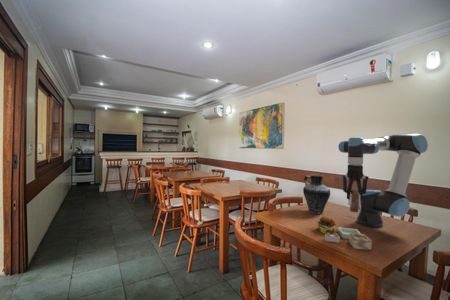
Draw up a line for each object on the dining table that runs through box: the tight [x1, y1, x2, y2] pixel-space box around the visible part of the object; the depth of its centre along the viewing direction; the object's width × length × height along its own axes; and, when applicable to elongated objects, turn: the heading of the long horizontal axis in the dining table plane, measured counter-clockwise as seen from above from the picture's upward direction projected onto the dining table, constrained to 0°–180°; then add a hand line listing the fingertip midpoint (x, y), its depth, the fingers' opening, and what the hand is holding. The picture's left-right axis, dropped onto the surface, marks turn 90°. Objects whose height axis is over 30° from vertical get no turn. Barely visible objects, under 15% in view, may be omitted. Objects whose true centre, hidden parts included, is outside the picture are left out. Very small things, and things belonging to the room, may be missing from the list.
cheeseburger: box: [317, 215, 337, 234], centre depth 135 cm, size 10×11×10 cm
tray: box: [337, 226, 362, 240], centre depth 128 cm, size 11×11×2 cm
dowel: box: [349, 189, 359, 213], centre depth 125 cm, size 4×4×12 cm
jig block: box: [348, 233, 373, 251], centre depth 116 cm, size 8×8×5 cm
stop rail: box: [324, 233, 341, 244], centre depth 121 cm, size 7×2×4 cm, turn 76°
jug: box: [302, 173, 331, 215], centre depth 171 cm, size 21×19×30 cm
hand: (354, 204), depth 126 cm, fingers closed on dowel, 4 cm apart
